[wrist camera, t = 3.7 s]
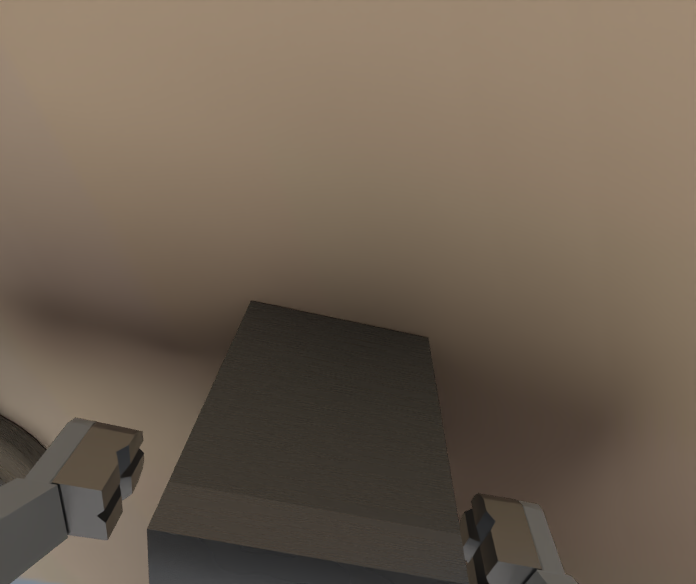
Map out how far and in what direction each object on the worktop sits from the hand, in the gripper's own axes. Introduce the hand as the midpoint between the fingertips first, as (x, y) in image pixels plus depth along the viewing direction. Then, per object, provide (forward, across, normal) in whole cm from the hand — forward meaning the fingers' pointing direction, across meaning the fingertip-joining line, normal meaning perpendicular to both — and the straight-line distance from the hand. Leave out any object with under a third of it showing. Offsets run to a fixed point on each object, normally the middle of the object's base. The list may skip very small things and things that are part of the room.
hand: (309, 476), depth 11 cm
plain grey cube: (+3, 0, 0) cm, 3 cm away
